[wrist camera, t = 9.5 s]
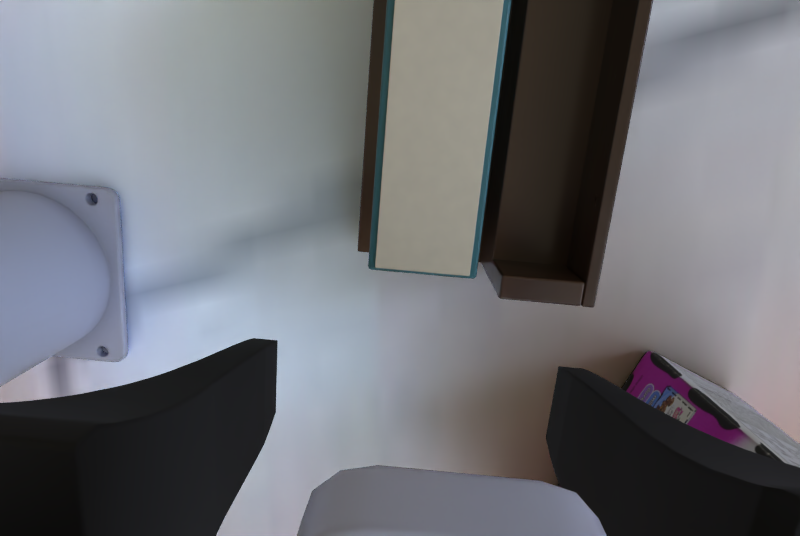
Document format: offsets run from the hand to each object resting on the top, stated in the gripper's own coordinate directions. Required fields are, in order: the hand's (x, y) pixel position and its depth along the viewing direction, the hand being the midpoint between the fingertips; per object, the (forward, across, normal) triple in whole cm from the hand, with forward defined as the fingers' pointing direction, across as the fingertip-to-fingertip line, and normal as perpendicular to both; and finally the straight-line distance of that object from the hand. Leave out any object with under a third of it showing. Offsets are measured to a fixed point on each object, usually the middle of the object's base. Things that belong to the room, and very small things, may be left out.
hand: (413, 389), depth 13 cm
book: (+8, 0, -8) cm, 12 cm away
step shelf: (+10, -2, -8) cm, 13 cm away
